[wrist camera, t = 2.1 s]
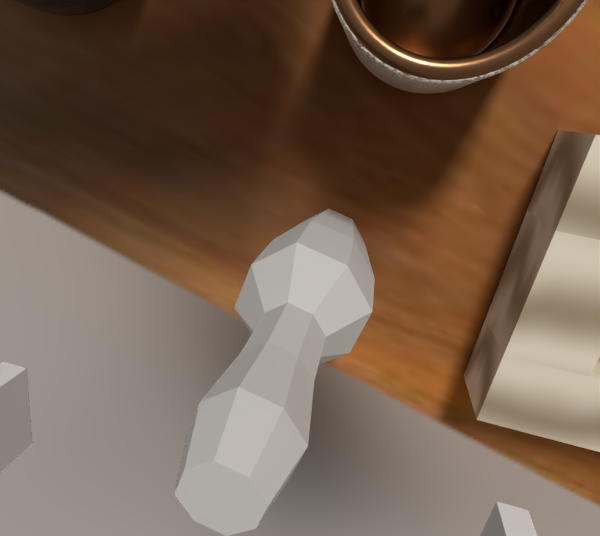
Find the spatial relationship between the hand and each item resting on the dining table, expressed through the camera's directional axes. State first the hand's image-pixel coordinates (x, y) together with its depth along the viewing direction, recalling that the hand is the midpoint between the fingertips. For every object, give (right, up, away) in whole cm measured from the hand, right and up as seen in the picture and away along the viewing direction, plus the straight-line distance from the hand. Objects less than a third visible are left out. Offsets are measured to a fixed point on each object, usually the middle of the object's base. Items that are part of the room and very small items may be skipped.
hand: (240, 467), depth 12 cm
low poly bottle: (+4, +7, +19) cm, 21 cm away
